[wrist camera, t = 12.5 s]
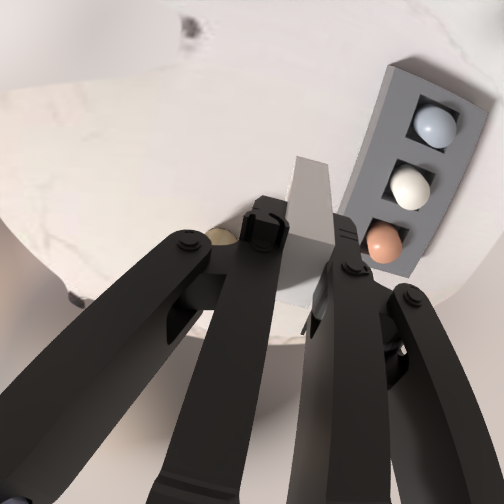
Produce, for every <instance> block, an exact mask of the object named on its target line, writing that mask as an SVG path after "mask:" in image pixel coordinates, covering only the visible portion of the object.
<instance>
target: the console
mask: <svg viewBox="0 0 504 504" xmlns="http://www.w3.org/2000/svg"><path fill="white" fill-rule="evenodd" d="M423 104H433V105H435V106H437V107H439V108H441V109H442V110H444V111H446V112H448V113H449V114H450V115H451V116H452V117H453V118H454V120H455V123H456V128H457V131H456V136H455V138H454V140H453V141H452V143H451V144H450V145H448V146H446V147H444V148H435V147H432V146H430V145H429V144H428V143H427V142H426V141H425V140H423V139H422V138H421V137H420V136H419V135H418V134H417V133H416V132H415V130H414V128H413V125H412V117H413V114H414V111H415V110H416V109H417V108H418V107H419V106H421V105H423ZM487 115H488V112H486V111H484V110H483V109H481V108H479V107H477V106H476V105H474V104H472V103H470V102H468V101H467V100H465V99H463V98H461V97H459V96H457V95H455V94H454V93H452V92H450V91H448V90H446V89H444V88H442V87H440V86H438V85H435V84H433V83H431V82H429V81H427V80H425V79H423V78H420V77H418V76H416V75H414V74H411V73H409V72H407V71H404V70H402V69H399V68H397V67H394V66H389V65H388V66H387V69H386V72H385V76H384V79H383V82H382V85H381V89H380V92H379V95H378V98H377V101H376V104H375V107H374V111H373V114H372V117H371V120H370V123H369V126H368V129H367V132H366V135H365V138H364V140H363V143H362V146H361V149H360V152H359V155H358V158H357V160H356V163H355V166H354V169H353V172H352V174H351V177H350V180H349V183H348V185H347V188H346V191H345V193H344V196H343V199H342V201H341V204H340V207H339V209H338V212H337V214H339V215H342V216H346V217H349V218H351V220H352V221H353V222H354V224H355V225H356V228H357V235H358V239H359V241H358V242H359V245H360V251H361V257H362V261H364V262H365V263H366V264H367V265H368V266H369V267H371V268H374V269H378V270H381V271H385V272H388V273H392V274H395V275H399V276H402V277H406V278H409V277H410V275H411V274H412V272H413V270H414V268H415V267H416V265H417V263H418V262H419V260H420V258H421V256H422V255H423V253H424V251H425V249H426V248H427V246H428V244H429V242H430V240H431V239H432V237H433V235H434V233H435V231H436V229H437V227H438V226H439V224H440V222H441V220H442V218H443V216H444V214H445V212H446V210H447V208H448V206H449V204H450V202H451V200H452V198H453V196H454V194H455V192H456V189H457V187H458V185H459V183H460V181H461V179H462V177H463V174H464V172H465V170H466V168H467V165H468V163H469V161H470V158H471V156H472V154H473V151H474V149H475V146H476V144H477V141H478V139H479V136H480V134H481V131H482V128H483V126H484V123H485V120H486V118H487ZM403 164H409V165H412V166H414V167H416V168H417V169H418V170H419V172H420V173H421V174H422V176H423V177H424V179H425V180H426V181H427V183H428V184H429V187H430V196H429V199H428V201H427V202H426V203H425V205H423V206H422V207H421V208H419V209H416V210H407V209H404V208H402V207H401V206H400V205H399V204H398V203H397V201H396V199H395V196H394V194H393V192H392V190H391V188H390V185H389V177H390V175H391V172H392V171H393V170H394V169H395V168H396V167H398V166H400V165H403ZM378 220H383V221H386V222H389V223H392V224H394V225H395V227H396V230H397V232H398V235H399V238H400V240H401V243H402V252H401V254H400V256H399V257H398V258H397V259H396V260H394V261H393V262H390V263H385V264H382V263H378V262H376V261H374V260H373V259H372V258H371V256H370V254H369V249H368V245H367V240H366V231H367V229H368V227H369V226H370V225H371V224H372V223H373V222H375V221H378Z"/></svg>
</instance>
